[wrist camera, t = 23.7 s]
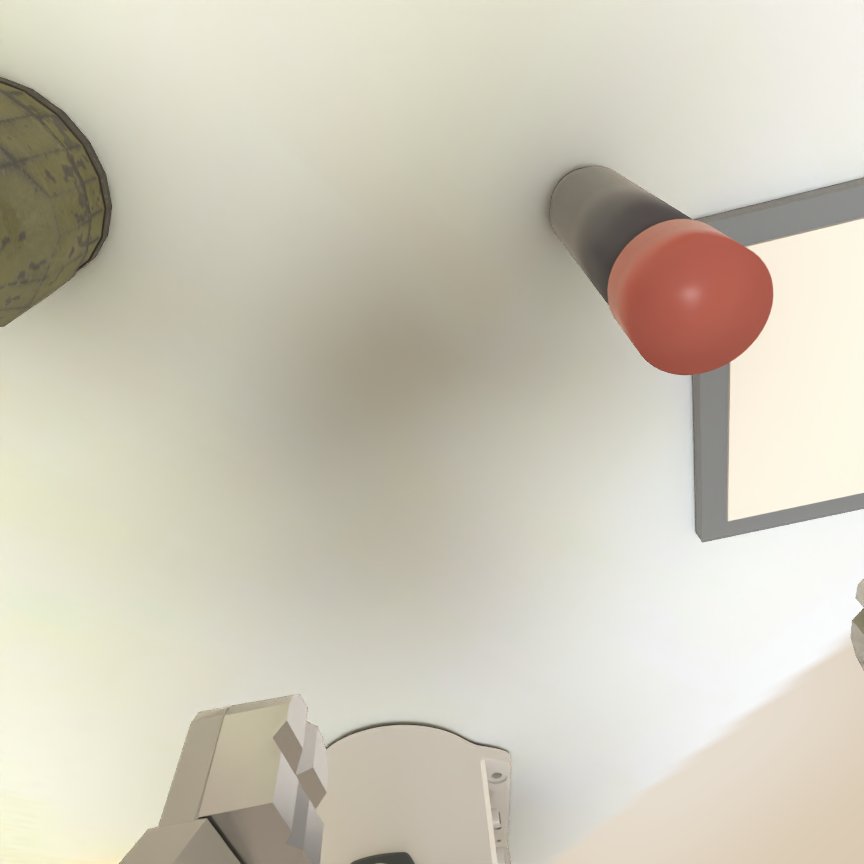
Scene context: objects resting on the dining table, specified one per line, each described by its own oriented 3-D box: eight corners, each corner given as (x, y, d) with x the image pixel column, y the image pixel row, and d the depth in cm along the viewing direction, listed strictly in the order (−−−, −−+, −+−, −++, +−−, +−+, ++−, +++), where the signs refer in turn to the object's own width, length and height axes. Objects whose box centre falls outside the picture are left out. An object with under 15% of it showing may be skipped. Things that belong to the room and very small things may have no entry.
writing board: (952, 478, 39) (967, 489, 38) (695, 532, 40) (703, 544, 39) (1036, 135, 29) (1060, 138, 28) (689, 220, 30) (700, 226, 29)
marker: (626, 232, 30) (770, 358, 18) (548, 251, 31) (635, 387, 18) (620, 148, 28) (776, 225, 16) (536, 170, 29) (625, 260, 16)
